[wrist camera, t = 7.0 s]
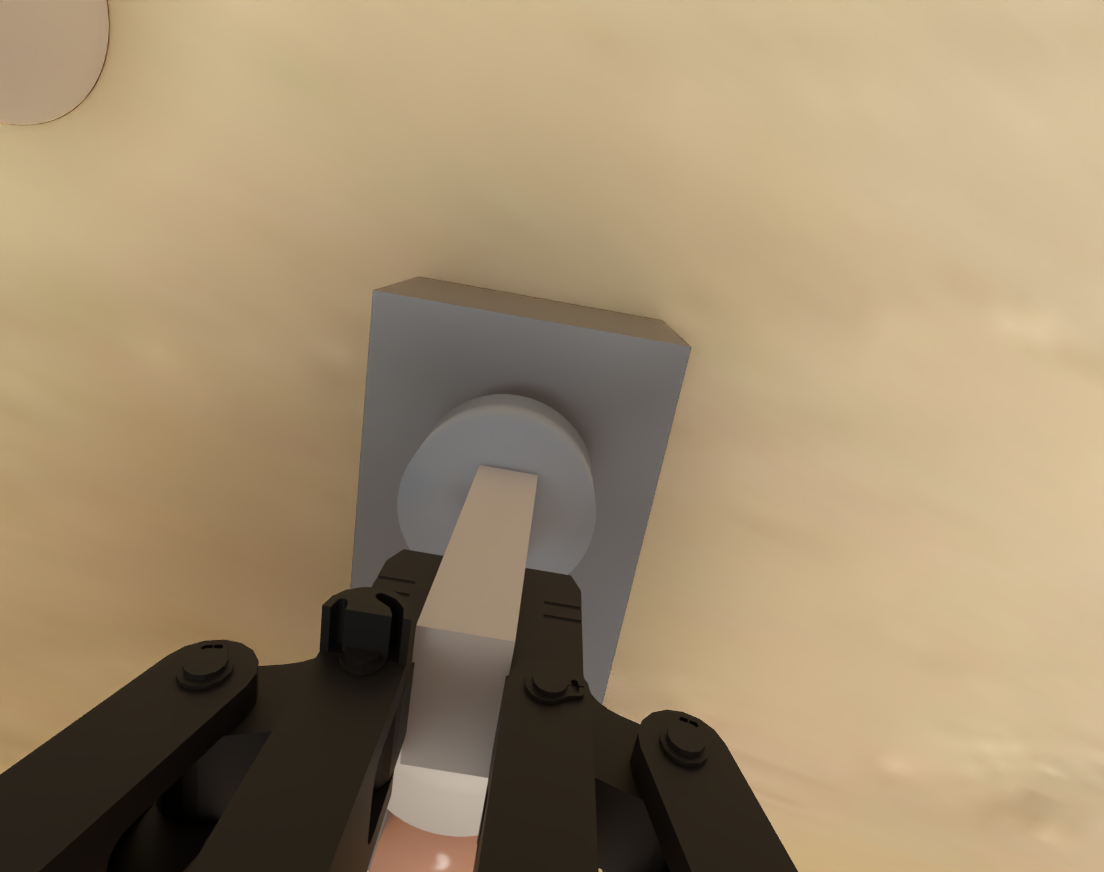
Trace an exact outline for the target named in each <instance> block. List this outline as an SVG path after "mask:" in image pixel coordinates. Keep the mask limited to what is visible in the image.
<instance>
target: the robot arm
mask: <svg viewBox="0 0 1104 872" xmlns="http://www.w3.org/2000/svg"><path fill="white" fill-rule="evenodd" d="M537 479H538V475H534V474H529V473H523V472H517V471H511V470H505V469H500V468H494V467H488V466H482V465H479V468H478V470H477V473H476V475H475V478H474V481H473V483H472V486H471V488H470V491H469V493H468V496H467V498H466V501H465V503H464V506H463V508H462V511H461V513H460V516H459V518H458V521H457V523H456V526H455V529H454V531H453V534H452V536H451V539H450V541H449V544H448V546H447V549H446V551H445V554H444V556H442V555H436V554H430V553H424V552H418V551H412V550H406V549H403V550H401V551H400V552H398V553H397V554H395V555H394V556H392V557H391V558H389V559H388V560H386V562H385V564H384V565H383V567H382V569H381V571H380V573H379V574H378V578H376V580H375V581H374V583H373V585H372V587H359V588H353V589H348V590H345V591H343V592H340V593H338V594H336V595H334V596H332V597H331V598H330V599H329V600H328V601H326V602H325V603H324V604H323V605H322V621H321V638H320V652H319V653H318V655H317V657H316V658H314V659H311V660H307V661H304V662H299V663H292V664H284V665H270V666H258V659H257V657H256V655H255V653H254V651H253V650H252V649H250V648H248V647H247V646H245V645H244V644H242V643H239V642H234V641H228V640H211V641H202V642H199V643H195V644H192V645H188V646H185V647H183V648H181V649H179V650H177V651H175V652H173V653H172V654H170V655H168V656H166V657H165V658H163V659H162V660H161V661H159V662H158V663H156V664H155V665H154V666H152V667H151V668H149V669H148V670H147V671H145V672H144V673H142V674H141V675H140V676H138V677H137V678H135V679H134V680H133V681H131V682H130V683H128V684H127V685H125V686H124V687H123V688H121V689H120V690H118V691H117V692H116V693H114V694H113V695H111V696H110V697H109V698H107V699H106V700H104V701H103V702H102V703H100V704H99V705H97V706H96V707H95V708H93V709H92V710H90V711H89V712H88V713H86V714H85V715H83V716H82V717H81V718H79V719H78V720H76V721H75V722H74V723H72V724H71V725H69V726H68V727H67V728H65V729H64V730H62V731H61V732H60V733H58V734H57V735H55V736H54V737H53V738H51V739H50V740H48V741H47V742H45V743H44V744H43V745H41V746H40V747H38V748H37V749H36V750H34V751H33V752H31V753H30V754H29V755H27V756H26V757H24V758H23V759H22V760H20V761H19V762H17V763H16V764H15V765H13V766H12V767H10V768H9V769H8V770H6V771H5V772H3V773H2V774H1V775H0V872H367V870H368V867H369V863H370V860H371V857H372V854H373V851H374V848H375V844H376V841H377V838H378V835H379V832H380V829H381V826H382V822H383V819H384V816H385V813H386V810H387V807H388V803H389V800H390V797H391V793H392V785H393V776H394V769H395V766H396V763H397V760H398V757H399V754H400V751H401V758H400V764H403V765H409V766H416V767H422V768H428V769H435V770H441V771H447V772H454V773H460V774H466V775H473V776H479V777H485V778H488V784H487V789H486V795H485V800H484V806H483V811H482V816H481V822H480V827H479V833H478V838H477V850H476V856H475V863H474V869H473V872H598V868H600V869H602V871H603V872H798V871H797V869H796V867H795V866H794V864H793V862H792V860H791V859H790V857H789V855H788V853H787V851H786V850H785V848H784V846H783V844H782V843H781V841H780V839H779V837H778V836H777V834H776V832H775V830H774V829H773V827H772V825H771V823H770V822H769V820H768V818H767V816H766V815H765V813H764V811H763V809H762V808H761V806H760V804H759V802H758V801H757V799H756V797H755V795H754V793H753V792H752V790H751V788H750V786H749V785H748V783H747V781H746V779H745V778H744V776H743V774H742V772H741V771H740V769H739V767H738V765H737V764H736V762H735V760H734V758H733V757H732V755H731V753H730V751H729V750H728V748H727V746H726V744H725V743H724V742H723V740H722V739H721V738H720V737H719V735H718V734H717V733H716V731H715V730H714V729H712V728H711V727H710V726H708V725H707V724H706V723H704V722H703V721H702V720H700V719H698V718H696V717H694V716H691V715H689V714H686V713H684V712H679V711H672V710H663V711H658V712H653V713H651V714H650V715H649V716H647V717H646V718H645V719H643V720H642V722H641V725H640V724H638V723H636V722H633V721H631V720H629V719H626V718H624V717H622V716H620V715H618V714H616V713H614V712H612V711H610V710H608V709H607V708H606V707H604V706H603V705H602V704H601V703H599V702H598V701H597V700H596V699H595V698H594V696H593V695H592V694H591V692H590V689H589V685H588V682H587V681H586V680H585V679H584V674H583V639H582V610H581V608H582V603H581V590H580V588H579V587H578V585H577V584H576V582H575V581H574V579H573V578H572V576H571V575H565V574H559V573H554V572H548V571H542V570H536V569H530V568H525V567H526V559H527V552H528V545H529V537H530V530H531V523H532V515H533V508H534V501H535V494H536V486H537ZM401 748H402V749H401Z"/></svg>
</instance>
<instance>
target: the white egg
mask: <svg viewBox="0 0 1104 872" xmlns="http://www.w3.org/2000/svg"><path fill="white" fill-rule="evenodd" d="M401 749H402V748H401ZM400 758H401V751H400V754H399V757H398V760H397V763H396V766H395V769H394V776H393V785H392V793H391V797H390V800H389V803H388V807H387V809H388V810H389V811H390V812H392V813H393V814H394V815H395V816H397V817H398V818H400V819H401V820H403V821H404V822H406V823H408V824H410V825H412V826H414V827H416V828H419V829H421V830H424V831H427V832H431V833H434V834H439V835H445V836H455V837H468V836H478V833H479V827H480V822H481V816H482V811H483V806H484V800H485V795H486V789H487V784H488V778H485V777H479V776H473V775H466V774H460V773H454V772H447V771H441V770H435V769H428V768H422V767H416V766H409V765H403V764H400Z"/></svg>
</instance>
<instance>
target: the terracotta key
mask: <svg viewBox="0 0 1104 872" xmlns="http://www.w3.org/2000/svg"><path fill="white" fill-rule="evenodd" d="M477 838H478V836H468V837H455V836H445V835H439V834H434V833H431V832H427V831H424V830H421V829H419V828H416V827H414V826H412V825H410V824H408V823H406V822H404V821H403V820H401V819H400V818H398V817H397V816H395V815H394V814H393V813H392V812H390V811H389V810H388V812H387V815H386V818H385V821H384V825H383V828H382V831H381V834H380V838H379V841H378V844H377V847H376V850H375V854H374V857H373V860H372V863H371V866H370V870H369V872H473V869H474V863H475V856H476V850H477Z"/></svg>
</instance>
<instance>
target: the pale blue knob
mask: <svg viewBox="0 0 1104 872" xmlns="http://www.w3.org/2000/svg"><path fill="white" fill-rule="evenodd" d="M479 465H482V466H488V467H494V468H500V469H505V470H511V471H517V472H523V473H529V474H534V475H538V479H537V486H536V494H535V501H534V508H533V515H532V523H531V530H530V537H529V545H528V552H527V559H526V567H525V568H530V569H536V570H542V571H548V572H554V573H559V574H565V575H568V574H569V573H570V572H571V571H572V570H573V569H574V568H575V567H576V566H577V564H578V563H579V562H580V561H581V559H582V557H583V556H584V554H585V553H586V551H587V549H588V547H589V544H590V542H591V539H592V536H593V532H594V528H595V521H596V503H595V494H594V484H593V475H592V467H591V461H590V457H589V454H588V451H587V448H586V446H585V444H584V442H583V440H582V438H581V437H580V435H579V433H578V432H577V431H576V429H575V428H574V427H573V426H572V424H571V423H570V422H569V421H568V420H567V419H566V418H564V417H563V416H562V415H561V414H560V413H558V412H557V411H555V410H554V409H553V408H551V407H549V406H547V405H545V404H544V403H542V402H539V401H536V400H534V399H531V398H527V397H523V396H519V395H511V394H494V395H487V396H482V397H478V398H475V399H471V400H469V401H467V402H464V403H462V404H460V405H459V406H457V407H455V408H454V409H452V410H451V411H449V412H448V413H447V414H446V415H444V416H443V417H442V418H441V419H440V420H439V421H438V423H437V424H436V425H435V426H434V428H433V429H432V430H431V432H430V433H429V435H428V436H427V438H426V439H425V441H424V442H423V443H422V445H421V446H420V448H419V449H418V451H417V452H416V454H415V455H414V456H413V458H412V459H411V461H410V462H409V464H408V466H407V468H406V470H405V472H404V474H403V477H402V480H401V483H400V486H399V492H398V500H397V511H398V520H399V524H400V528H401V532H402V534H403V537H404V539H405V542H406V544H407V545H408V547H409V549H410V550H412V551H418V552H424V553H430V554H436V555H442V556H444V554H445V551H446V549H447V546H448V544H449V541H450V539H451V536H452V534H453V531H454V529H455V526H456V523H457V521H458V518H459V516H460V513H461V511H462V508H463V506H464V503H465V501H466V498H467V496H468V493H469V491H470V488H471V486H472V483H473V481H474V478H475V475H476V473H477V470H478V468H479Z"/></svg>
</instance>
